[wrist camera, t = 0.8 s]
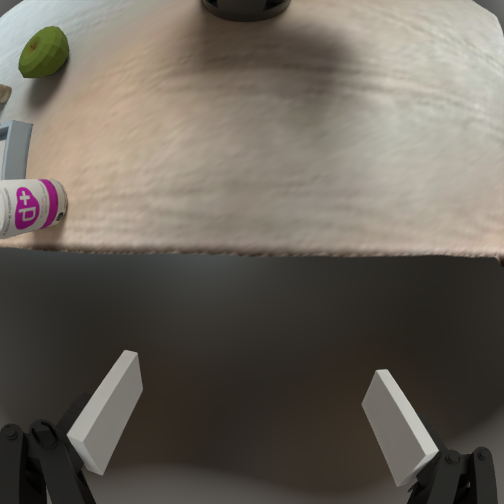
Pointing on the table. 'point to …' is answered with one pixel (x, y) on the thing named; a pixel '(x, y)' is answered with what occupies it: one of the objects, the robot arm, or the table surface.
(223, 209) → the table surface
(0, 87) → the peg
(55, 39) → the apple
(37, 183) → the supplement can
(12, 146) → the crate
